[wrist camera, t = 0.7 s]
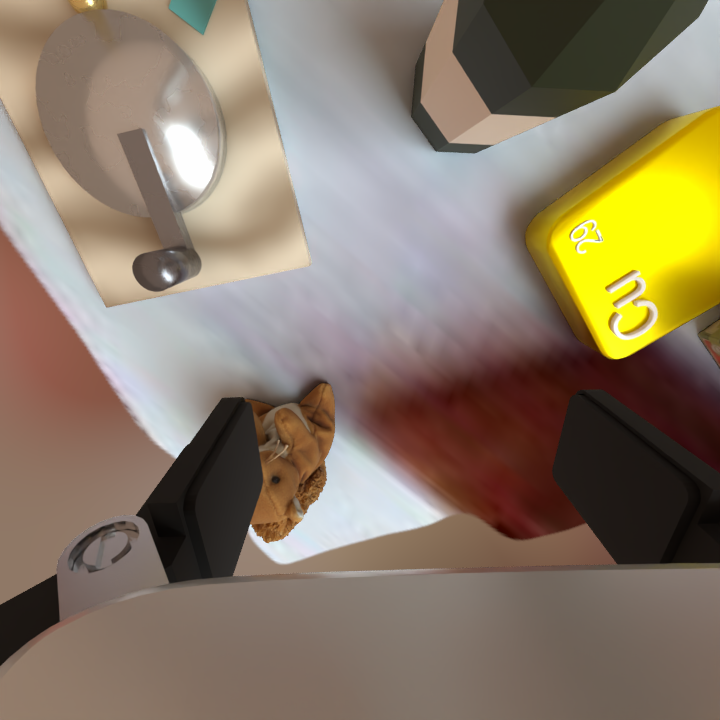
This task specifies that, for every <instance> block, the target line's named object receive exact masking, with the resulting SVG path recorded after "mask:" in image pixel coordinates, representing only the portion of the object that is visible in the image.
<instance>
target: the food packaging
mask: <svg viewBox="0 0 720 720" xmlns="http://www.w3.org/2000/svg"><path fill="white" fill-rule="evenodd" d="M698 337H699V338H700V339H701V341H702V342H703V344H704V345H705V347H706V348H707V350H708V351H709V353H710V354H711V355H712V357H713V358H714V360H715V362H716V363H717V365H718V366H719V368H720V319H719V320H718V321H716V322H715V323H713V324H712V325H711V326H709V327H708V328H707V329H705V330H704V331H702V332H700V333H699V334H698Z"/></svg>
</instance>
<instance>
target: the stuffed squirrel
mask: <svg viewBox="0 0 720 720" xmlns="http://www.w3.org/2000/svg"><path fill="white" fill-rule="evenodd" d="M245 401H246V402H250V403H251V404H252V409H253V415H254V421H255V428H256V434H257V440H258V447H259V453H260V459H261V466H262V472H263V486H262V490H261V493H260V496H259V499H258V502H257V505H256V508H255V511H254V514H253V517H252V519H251V522H250V524H252V527H254V528H253V529H254V531H255V532H257V536H260V537H261V536H262V538H263V541H265V542H266V543H269V542H270V541H271V542H272V541H273V542H274V541H278V540H280V539H281V540H282V539H284V537H285V536H286V535H287V536H288V533H289V532H291V530H292V529H294V526H296V524H298V523H299V522H301V520H302V519H303V517H304V514H305V513H307V509H308V507H309V505H310V504H312V503H314V502H315V501H316V500H317V501H318V497H319V493H320V492H322V491H323V486H325V484H326V483H325V481H327V479H326V477H327V476H326V475H327V473H326V470H325V469H326V467H325V461H324V459H325V458H326V456H327V455H328V453H329V450H330V448H331V445H332V442H333V438H334V433H335V418H334V417H335V402H334V395H333V391H332V388H331V385H330V384H325V383H321V384H319V385H318V386H317V387H315V388H314V389H313V390H312V391H311V392H310V393H309V394H308V395H307V396H306V397H305V398H304V399H303V400H302V401H301V402H300V404H297V403H287V404H284V405H280V406H278V407H276V408H275V407H273V406H271V405H268V404H265V403H261V402H258V401H254V400H249V399H245Z"/></svg>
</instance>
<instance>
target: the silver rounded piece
mask: <svg viewBox="0 0 720 720" xmlns="http://www.w3.org/2000/svg"><path fill="white" fill-rule="evenodd" d="M68 2H69V4H70V5H71V7H72V8H73V9H74V10H75V11H76V12H77V13H78V14H76V15H74V16H72V17H71V18H69V19H67V20H66V21H64V22H63V23H62V24H61V25H60V26H58V27H57V28H56V29H55V30H54V32H53V33H52V34H51V36H50V37H49V38H48V40H47V42H46V44H45V46H44V48H43V50H42V52H41V55H40V58H39V61H38V66H37V72H36V88H35V89H36V101H37V107H38V112H39V117H40V120H41V123H42V127H43V130H44V132H45V135H46V137H47V139H48V142H49V144H50V146H51V148H52V150H53V151H54V153H55V155H56V157H57V158H58V160H59V161H60V163H61V164H62V166H63V167H64V168H65V170H66V171H67V172H68V173H69V175H70V176H71V177H72V178H73V179H74V180H75V181H76V182H77V183H78V184H79V185H80V186H81V187H82V188H83V189H84V190H85V191H86V192H88V193H89V194H90V195H91V196H92V197H94V198H95V199H97V200H98V201H100V202H101V203H103V204H105V205H107V206H109V207H110V208H112V209H115V210H117V211H120V212H122V213H125V214H129V215H132V216H138V217H151V219H152V222H153V224H154V226H155V229H156V231H157V234H158V236H159V239H160V241H161V244H162V246H163V249H160V250H156V251H151V252H147V253H143V254H140V255H138V256H137V257H136V258H135V260H134V261H133V265H132V271H133V275H134V277H135V279H136V281H137V282H138V283H139V284H140V285H141V286H142V287H143V288H145V289H147V290H149V291H153V292H160V291H164V290H166V289H168V288H170V287H173V286H175V285H177V284H179V283H182V282H184V281H186V280H189V279H191V278H193V277H195V276H197V275H198V274H199V272H200V271H201V267H202V263H201V259H200V257H199V255H198V253H197V252H196V251H195V249H194V246H193V243H192V241H191V238H190V235H189V233H188V230H187V227H186V224H185V222H184V219H183V216H182V214H184V213H187V212H189V211H191V210H193V209H195V208H197V207H198V206H199V205H201V204H202V203H203V202H204V201H205V200H206V199H208V198H209V196H210V195H211V194H212V193H213V191H214V190H215V188H216V187H217V185H218V183H219V181H220V179H221V176H222V173H223V171H224V166H225V162H226V155H227V133H226V125H225V120H224V116H223V112H222V109H221V106H220V103H219V100H218V98H217V96H216V94H215V92H214V89H213V87H212V85H211V84H210V82H209V81H208V79H207V77H206V76H205V74H204V73H203V71H202V70H201V69H200V67H199V66H198V65H197V63H196V62H195V61H194V60H193V59H192V58H191V57H190V56H189V55H188V54H187V53H186V52H185V51H184V50H183V49H182V48H181V47H180V46H178V45H177V44H176V43H175V42H174V41H173V40H172V39H171V38H170V37H168V36H167V35H166V34H165V33H164V32H162V31H161V30H160V29H158V28H157V27H155V26H154V25H152V24H151V23H149V22H147V21H145V20H143V19H141V18H139V17H137V16H135V15H132V14H129V13H126V12H122V11H117V10H111V9H108V5H107V0H68Z"/></svg>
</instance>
